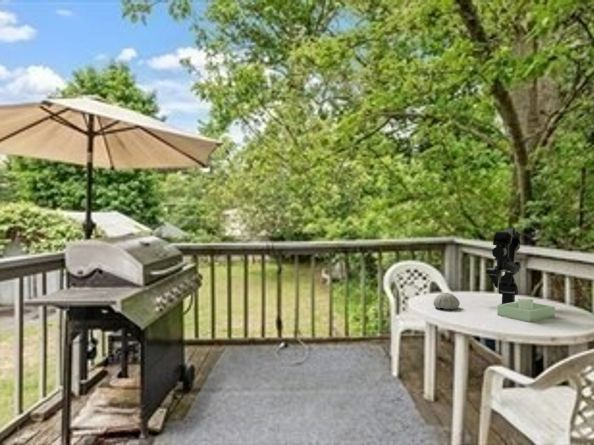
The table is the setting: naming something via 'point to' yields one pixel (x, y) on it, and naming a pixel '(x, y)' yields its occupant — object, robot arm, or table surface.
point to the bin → (526, 312)
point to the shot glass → (525, 304)
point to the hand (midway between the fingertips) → (502, 286)
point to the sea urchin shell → (446, 301)
